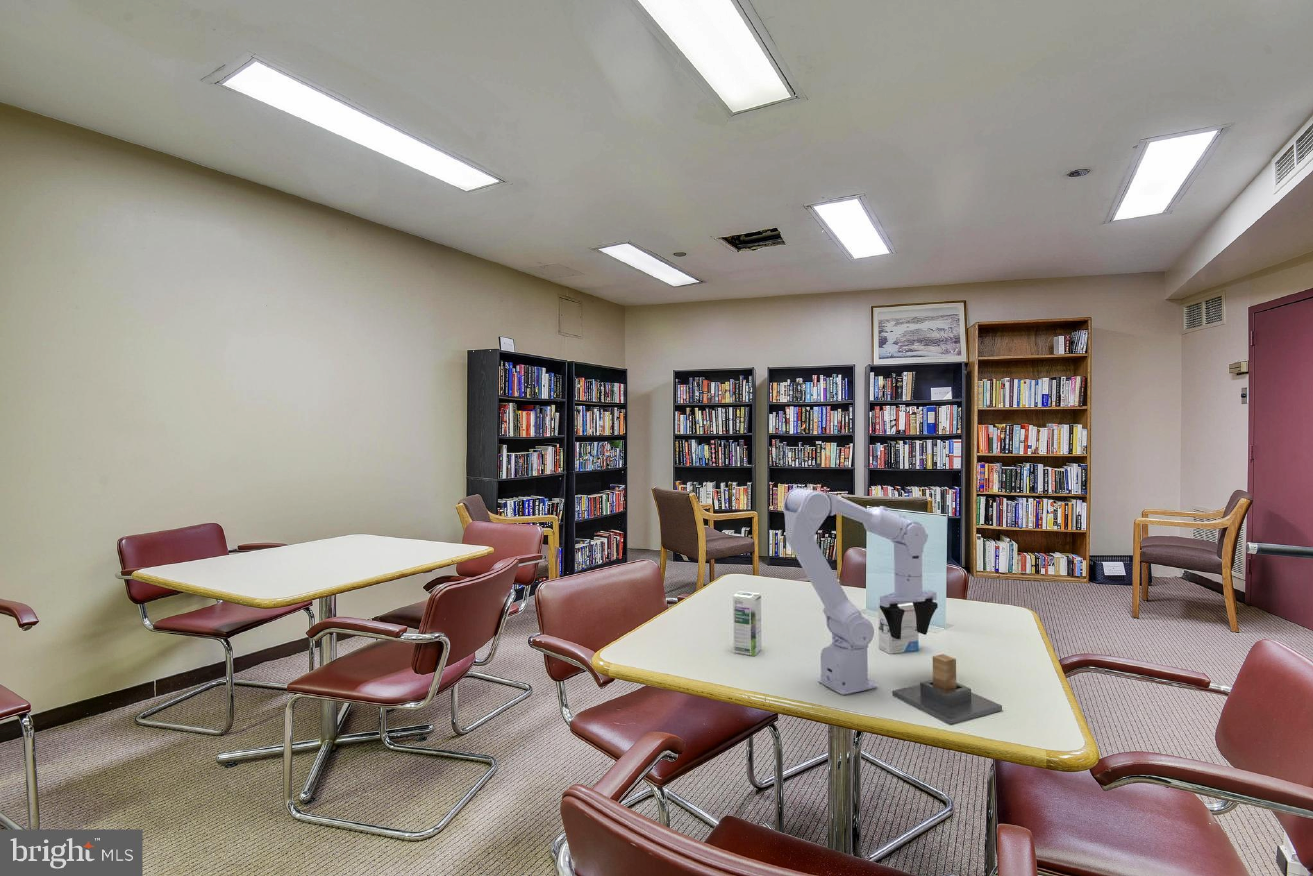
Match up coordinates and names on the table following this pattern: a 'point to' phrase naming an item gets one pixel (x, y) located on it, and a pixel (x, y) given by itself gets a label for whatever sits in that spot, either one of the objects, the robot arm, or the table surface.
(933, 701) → the socket plate
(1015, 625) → the table surface
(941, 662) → the oak peg
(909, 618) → the ink box
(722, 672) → the table surface
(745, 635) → the syrup box
